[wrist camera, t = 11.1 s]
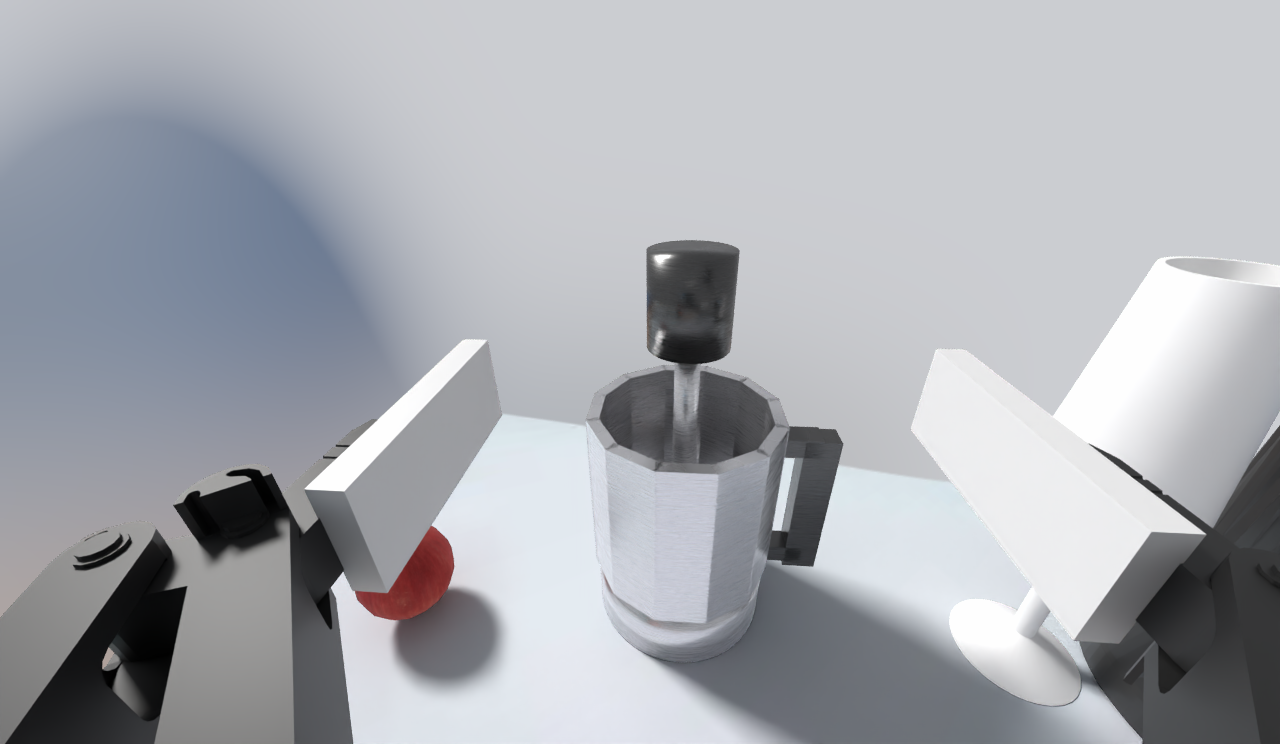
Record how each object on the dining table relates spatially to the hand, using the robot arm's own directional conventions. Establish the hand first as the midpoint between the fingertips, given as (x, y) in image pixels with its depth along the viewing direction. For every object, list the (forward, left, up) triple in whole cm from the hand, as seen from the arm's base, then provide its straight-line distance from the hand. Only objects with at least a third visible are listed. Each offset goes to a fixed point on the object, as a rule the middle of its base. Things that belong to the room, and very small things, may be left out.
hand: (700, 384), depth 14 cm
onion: (+18, -7, -22) cm, 30 cm away
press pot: (-2, -10, -22) cm, 24 cm away
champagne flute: (-21, -7, -22) cm, 31 cm away
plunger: (0, -10, -18) cm, 20 cm away
